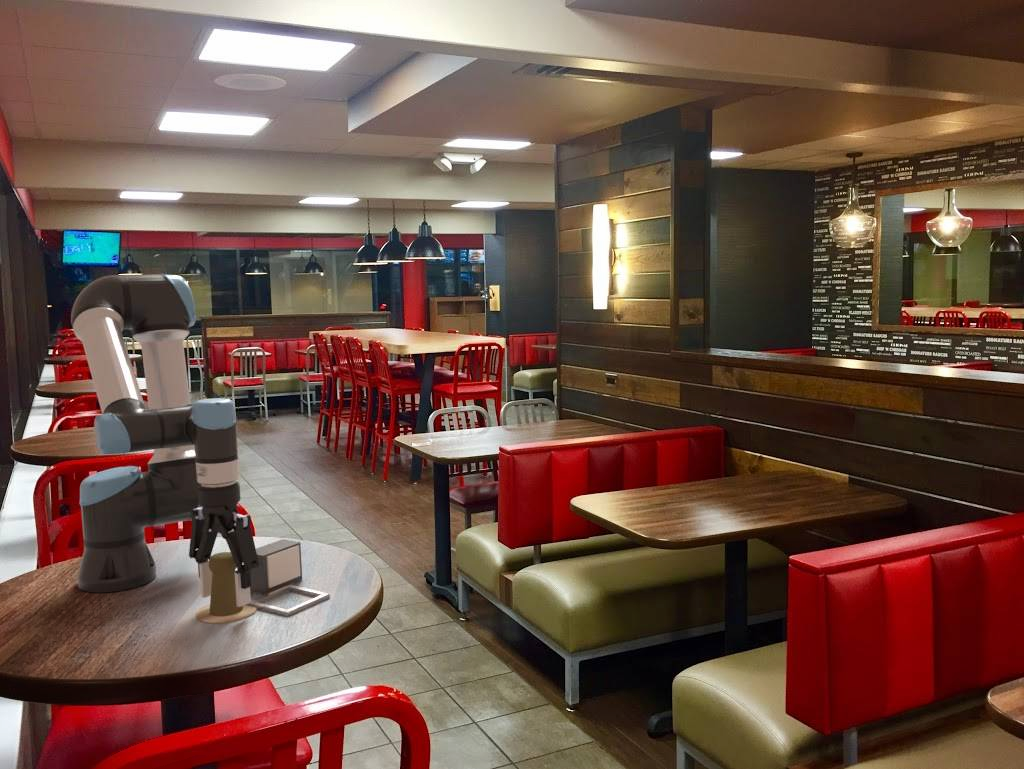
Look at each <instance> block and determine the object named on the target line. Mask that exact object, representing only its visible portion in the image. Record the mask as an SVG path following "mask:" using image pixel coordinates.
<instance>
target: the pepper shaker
mask: <svg viewBox="0 0 1024 769" xmlns="http://www.w3.org/2000/svg"><path fill="white" fill-rule="evenodd" d="M208 561H209V569H210V570H211V572H212V585H211V595H210V598H209V600H210V601H209V602H210V603H209V605H210V614H211V615H213V616H230V615H234V614H237V613H239V612H241V611H242V610H243V606H241V607H237V603H236V587H235V571H236V570H237V567H236V564H235V562H234V559H233V557H232V554H231V552H230V551H223V552H218V553H214V554H211V557H210V559H209V560H208Z"/></svg>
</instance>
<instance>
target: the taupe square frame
mask: <svg viewBox="0 0 1024 769" xmlns="http://www.w3.org/2000/svg"><path fill="white" fill-rule="evenodd" d="M288 592H292V593H297V594H301V595H306V596H311V597H313V598H311V599H309V600H307V601H304V602H302V603H300V604H297V605H295V606H293V607H291V608H287V609H286V608H283V607H278V606H275V605H271V604H267V603H264V602H266V601H269V600H271V599H273V598H275V597H278V596H280V595H282V594H285V593H288ZM330 596H331V595H330V593H327V592H324V591H319V590H315V589H310V588H306V587H303V586H297V585H293V584H291V585H287V586H285V587H282V588H280V589H277V590H275V591H273V592H270V593H268V594H265V595H264V594H262V595H261V596H258V597H256V598H253V599H251V603H248V604H247V605H251V606H255V607H257V610H262V611H265V612H268V613H272V614H275V615H281V616H284V617H290V616H293V615H295V614H297V613H299V612H300V611H303V610H306V609H307V608H310V607H313V606H314V605H316V604H319V603H321V602H324V601H325V600H328V599H330V598H331V597H330Z"/></svg>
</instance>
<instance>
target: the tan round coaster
mask: <svg viewBox="0 0 1024 769" xmlns="http://www.w3.org/2000/svg"><path fill="white" fill-rule="evenodd" d="M257 610H258V609H257V607H255V606H251V605H247V604H246V605H243V610H242V611H241V612H239V613H237V614H234V615H230V616H213V615H211V614H210V604H207V605H204V606H202V607H201V608H199V609H198V610H197V611H196V612H195V618H196V620H197V621H199V622H202V623H206V624H226V623H232V622H236V621H241V620H243V619H246V618H249V617H251V616H252V615H253V614H255V613H256V612H257Z"/></svg>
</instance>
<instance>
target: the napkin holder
mask: <svg viewBox="0 0 1024 769" xmlns="http://www.w3.org/2000/svg"><path fill="white" fill-rule="evenodd" d="M255 548H256V553H257V557H258V562H259V566H258V567H256V568H253V569H251V587H250V593H252V592H253V593H256V594H259V595H260V594H261V595H265V594H268V593H270V592H273V591H275V590H277V589H280V588H282V587H285V586H287V585H293V584H295V583H298V582H300V581H303V570H302V569H303V567H302V549H301V548H302V546H301V542H299V541H294V540H289V539H284V538H283V539H279V540H277V541H274V542H270V543H268V544H265V545H263V546H259V547H255Z"/></svg>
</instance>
